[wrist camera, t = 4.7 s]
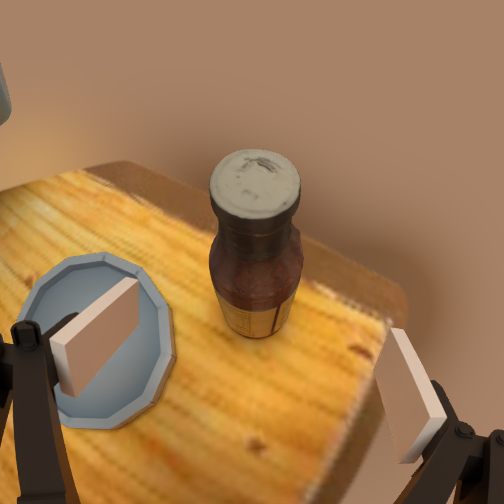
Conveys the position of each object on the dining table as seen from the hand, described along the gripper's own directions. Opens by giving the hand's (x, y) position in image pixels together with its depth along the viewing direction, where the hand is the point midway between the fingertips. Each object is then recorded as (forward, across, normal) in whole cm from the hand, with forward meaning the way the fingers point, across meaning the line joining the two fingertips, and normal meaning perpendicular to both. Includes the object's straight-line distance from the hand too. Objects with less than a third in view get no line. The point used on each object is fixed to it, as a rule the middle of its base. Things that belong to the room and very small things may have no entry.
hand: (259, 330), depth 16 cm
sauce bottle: (+14, -1, -7) cm, 16 cm away
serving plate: (+9, -16, -12) cm, 22 cm away
